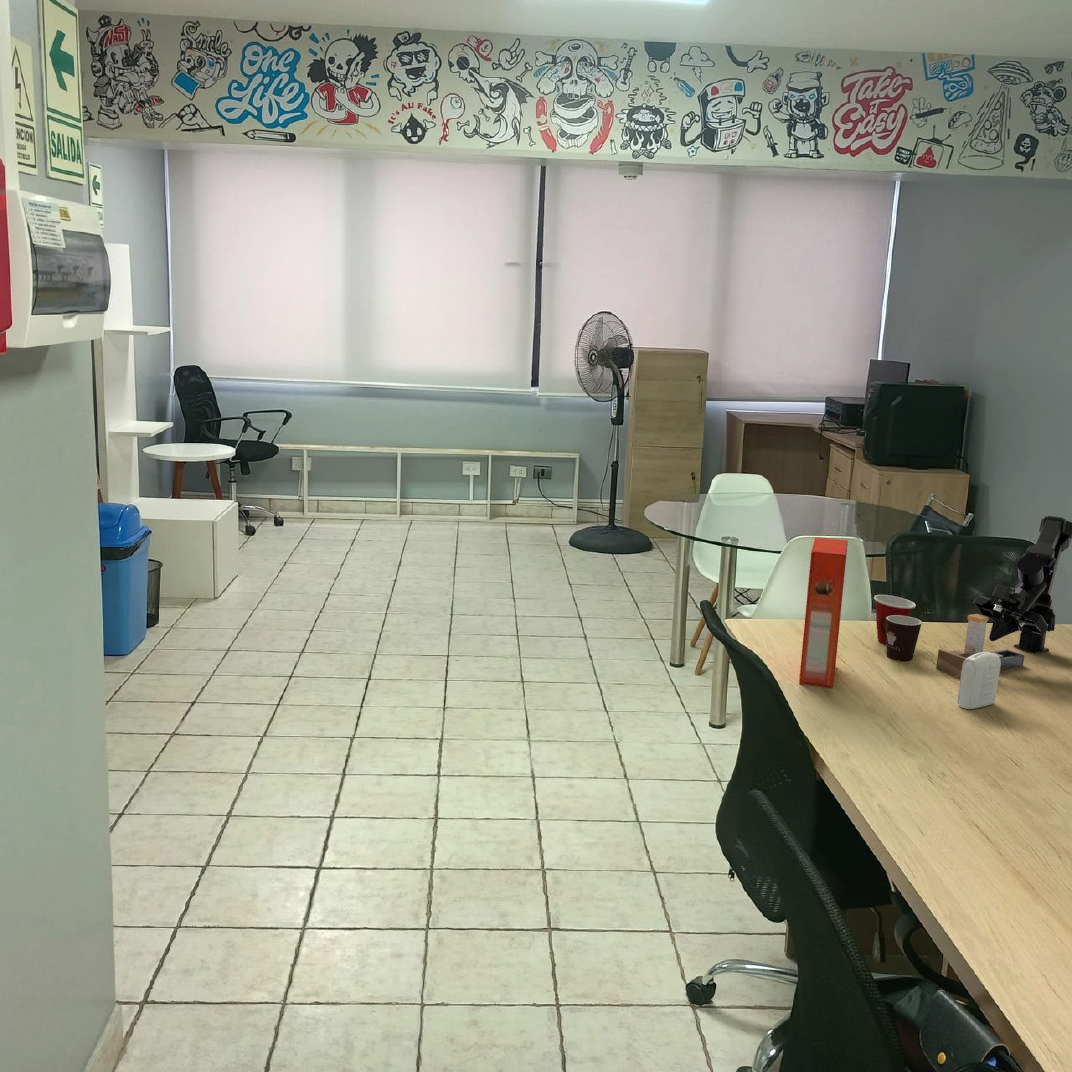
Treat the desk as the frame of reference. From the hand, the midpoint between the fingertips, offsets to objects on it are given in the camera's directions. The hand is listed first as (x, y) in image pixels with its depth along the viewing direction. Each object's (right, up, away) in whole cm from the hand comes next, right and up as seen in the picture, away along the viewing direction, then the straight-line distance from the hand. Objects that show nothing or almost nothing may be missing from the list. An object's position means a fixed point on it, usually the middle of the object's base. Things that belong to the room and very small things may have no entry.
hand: (990, 640), depth 275 cm
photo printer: (-14, -12, -26) cm, 32 cm away
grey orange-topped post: (-3, -6, -1) cm, 7 cm away
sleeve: (+3, -7, +3) cm, 8 cm away
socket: (-8, -8, -3) cm, 12 cm away
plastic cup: (-19, -3, +19) cm, 27 cm away
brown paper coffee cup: (-21, -5, +7) cm, 23 cm away
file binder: (-46, -8, -10) cm, 48 cm away
